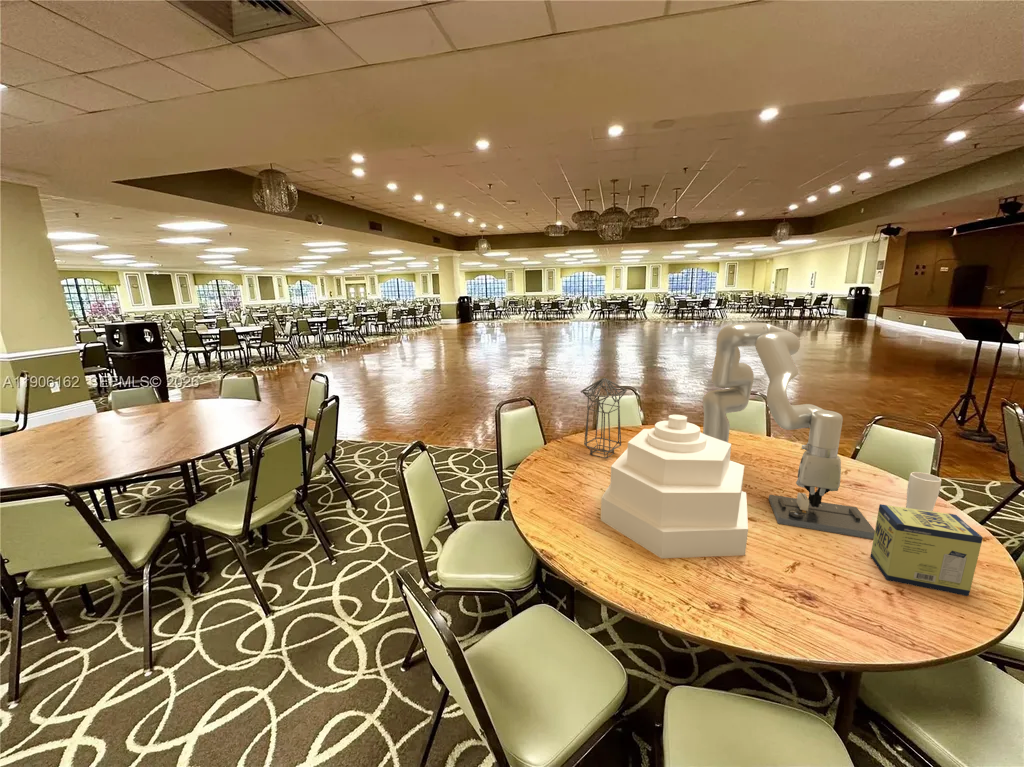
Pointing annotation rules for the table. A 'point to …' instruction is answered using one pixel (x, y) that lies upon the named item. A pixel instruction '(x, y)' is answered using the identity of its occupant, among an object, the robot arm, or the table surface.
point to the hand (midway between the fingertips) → (813, 505)
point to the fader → (802, 501)
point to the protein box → (925, 549)
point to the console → (822, 517)
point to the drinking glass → (922, 491)
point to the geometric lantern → (596, 385)
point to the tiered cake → (678, 493)
